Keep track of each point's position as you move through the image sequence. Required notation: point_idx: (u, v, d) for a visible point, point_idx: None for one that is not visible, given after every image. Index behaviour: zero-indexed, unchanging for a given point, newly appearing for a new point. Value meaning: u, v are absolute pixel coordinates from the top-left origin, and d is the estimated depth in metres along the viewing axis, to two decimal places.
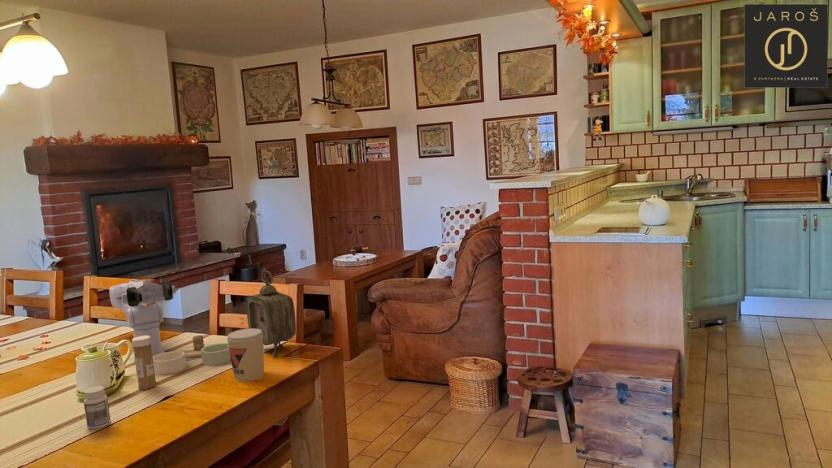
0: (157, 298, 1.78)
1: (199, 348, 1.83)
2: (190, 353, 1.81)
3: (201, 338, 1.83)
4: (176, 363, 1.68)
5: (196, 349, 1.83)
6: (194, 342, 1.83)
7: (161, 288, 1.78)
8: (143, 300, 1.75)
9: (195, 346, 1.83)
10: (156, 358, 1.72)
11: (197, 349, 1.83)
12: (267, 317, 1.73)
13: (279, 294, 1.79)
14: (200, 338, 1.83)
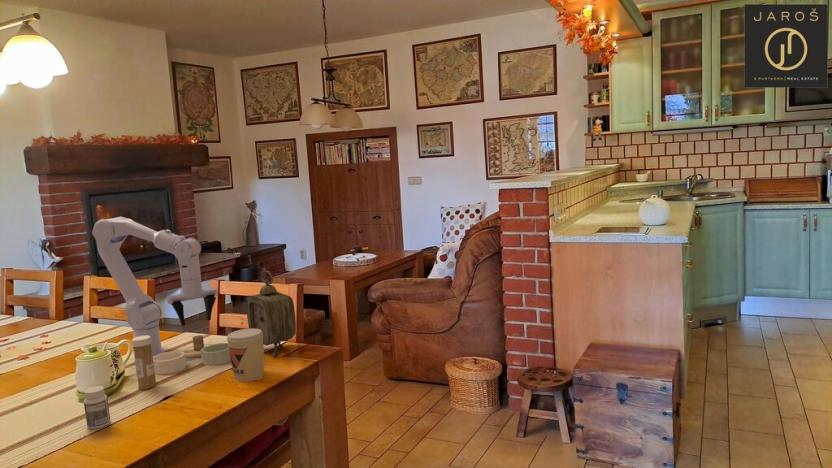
0: None
1: (199, 348, 1.83)
2: (190, 353, 1.81)
3: (201, 338, 1.83)
4: (176, 363, 1.68)
5: (196, 349, 1.83)
6: (194, 342, 1.83)
7: None
8: None
9: (195, 346, 1.83)
10: (156, 358, 1.72)
11: (197, 349, 1.83)
12: (267, 317, 1.73)
13: (279, 294, 1.79)
14: (200, 338, 1.83)
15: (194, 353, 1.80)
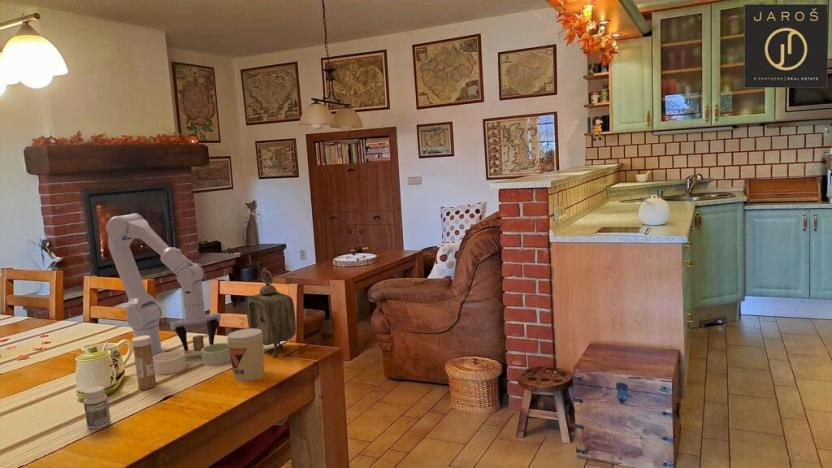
0: None
1: (199, 348, 1.83)
2: (190, 353, 1.81)
3: (201, 338, 1.83)
4: (176, 363, 1.68)
5: (196, 349, 1.83)
6: (194, 342, 1.83)
7: None
8: None
9: (195, 346, 1.83)
10: (156, 358, 1.72)
11: (197, 349, 1.83)
12: (267, 317, 1.73)
13: (279, 294, 1.79)
14: (200, 338, 1.83)
15: (194, 353, 1.80)
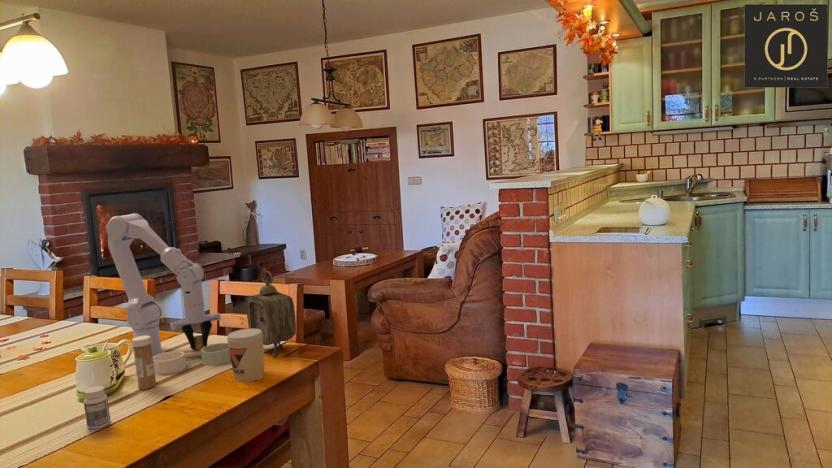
0: None
1: (199, 348, 1.83)
2: (190, 353, 1.81)
3: (201, 338, 1.83)
4: (176, 363, 1.68)
5: (196, 349, 1.83)
6: (194, 342, 1.83)
7: None
8: None
9: (195, 346, 1.83)
10: (156, 358, 1.72)
11: (197, 349, 1.83)
12: (267, 317, 1.73)
13: (279, 294, 1.79)
14: (200, 338, 1.83)
15: (194, 353, 1.80)
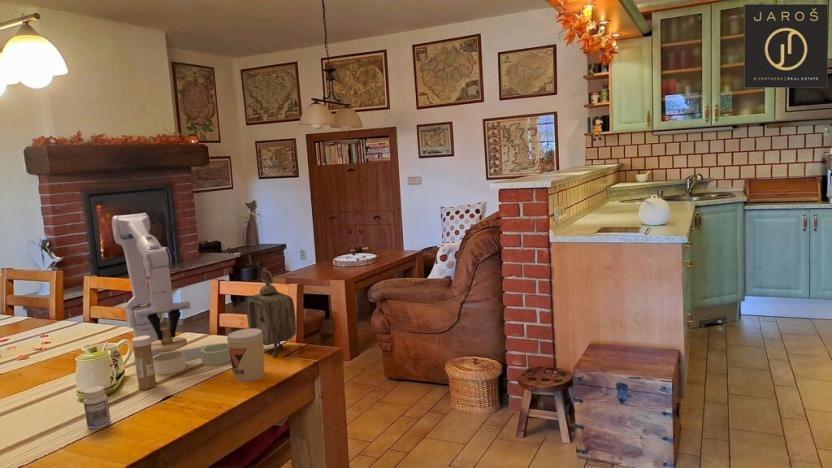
0: None
1: (166, 342, 1.69)
2: (155, 347, 1.67)
3: (168, 331, 1.69)
4: (176, 363, 1.68)
5: (163, 343, 1.69)
6: None
7: None
8: None
9: (162, 339, 1.69)
10: (156, 358, 1.72)
11: (164, 342, 1.69)
12: (267, 317, 1.73)
13: (279, 294, 1.79)
14: (167, 331, 1.69)
15: (159, 347, 1.66)
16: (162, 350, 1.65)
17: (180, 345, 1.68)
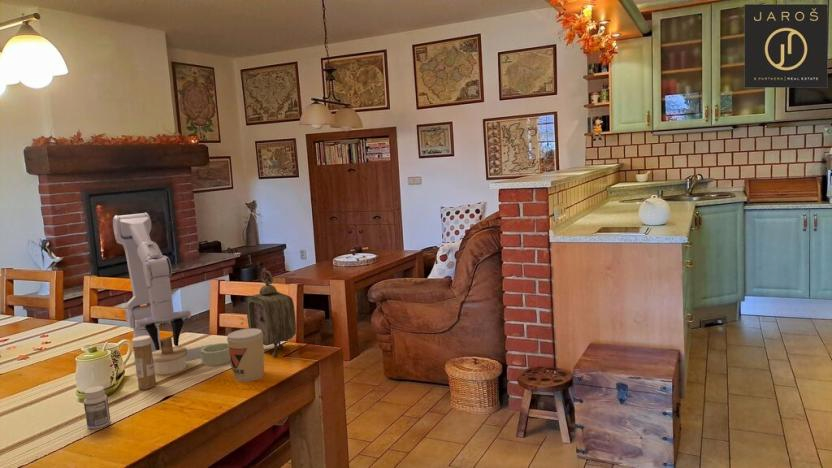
0: None
1: (166, 352, 1.69)
2: (155, 357, 1.67)
3: (169, 341, 1.69)
4: (176, 363, 1.68)
5: (163, 353, 1.69)
6: (161, 345, 1.69)
7: None
8: None
9: (162, 349, 1.69)
10: None
11: (164, 352, 1.69)
12: (267, 317, 1.73)
13: (279, 294, 1.79)
14: (167, 341, 1.69)
15: (159, 357, 1.67)
16: (162, 360, 1.66)
17: (180, 355, 1.68)
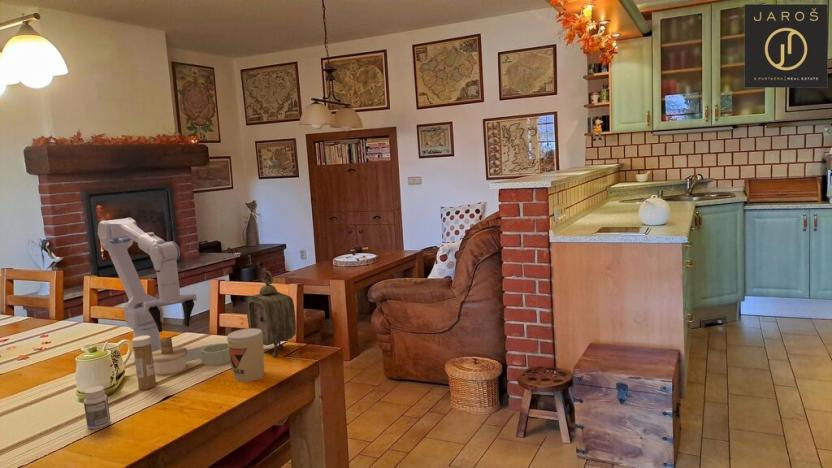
0: None
1: (166, 352, 1.69)
2: (155, 357, 1.67)
3: (169, 341, 1.69)
4: (176, 363, 1.68)
5: (163, 353, 1.69)
6: (161, 345, 1.69)
7: None
8: None
9: (162, 349, 1.69)
10: None
11: (164, 352, 1.69)
12: (267, 317, 1.73)
13: (279, 294, 1.79)
14: (167, 341, 1.69)
15: (159, 357, 1.67)
16: (162, 360, 1.66)
17: (180, 355, 1.68)
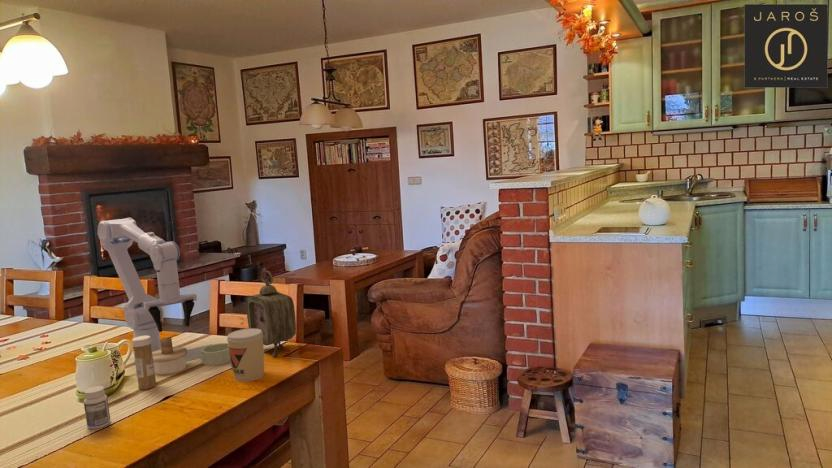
0: None
1: (166, 352, 1.69)
2: (155, 357, 1.67)
3: (169, 341, 1.69)
4: (176, 363, 1.68)
5: (163, 353, 1.69)
6: (161, 345, 1.69)
7: None
8: None
9: (162, 349, 1.69)
10: None
11: (164, 352, 1.69)
12: (267, 317, 1.73)
13: (279, 294, 1.79)
14: (167, 341, 1.69)
15: (159, 357, 1.67)
16: (162, 360, 1.66)
17: (180, 355, 1.68)
